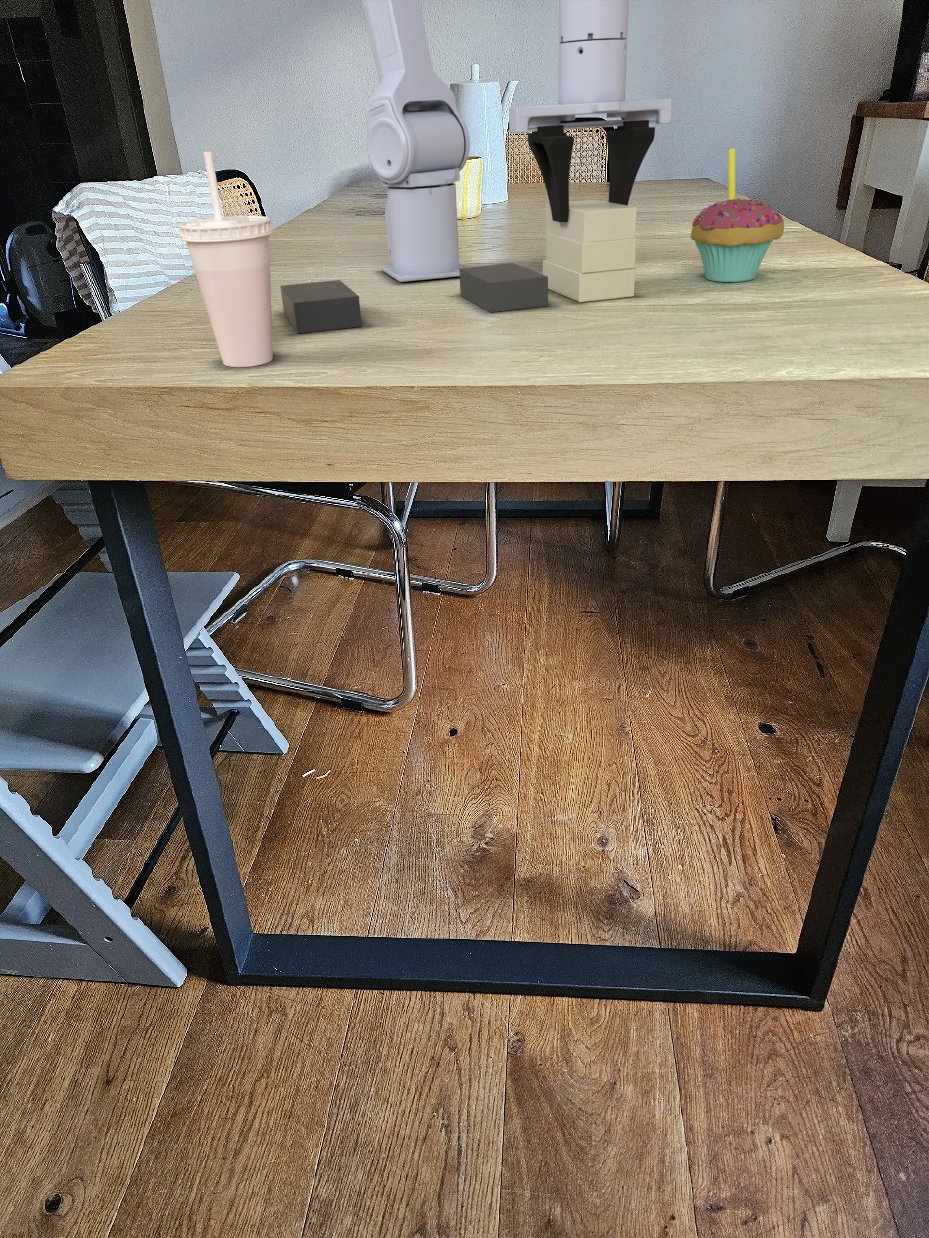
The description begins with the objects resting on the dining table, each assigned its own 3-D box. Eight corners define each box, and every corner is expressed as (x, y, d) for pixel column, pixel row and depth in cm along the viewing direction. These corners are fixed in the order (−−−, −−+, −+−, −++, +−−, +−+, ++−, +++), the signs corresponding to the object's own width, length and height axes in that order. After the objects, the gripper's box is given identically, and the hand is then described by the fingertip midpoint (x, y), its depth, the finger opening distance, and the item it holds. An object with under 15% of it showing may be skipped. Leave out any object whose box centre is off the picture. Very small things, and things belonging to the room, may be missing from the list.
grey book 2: (460, 295, 86) (459, 268, 84) (514, 290, 87) (513, 262, 86) (490, 312, 78) (489, 282, 77) (548, 306, 79) (548, 276, 78)
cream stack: (542, 287, 88) (542, 232, 85) (593, 281, 89) (595, 227, 86) (579, 303, 80) (581, 243, 77) (635, 296, 81) (638, 238, 79)
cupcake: (669, 277, 89) (678, 141, 83) (737, 267, 92) (751, 136, 86) (725, 289, 82) (739, 143, 76) (796, 279, 85) (815, 137, 79)
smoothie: (186, 367, 66) (143, 155, 59) (243, 347, 71) (209, 149, 63) (253, 375, 63) (217, 153, 56) (308, 353, 68) (280, 147, 61)
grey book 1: (284, 314, 82) (280, 285, 80) (343, 307, 83) (339, 279, 82) (297, 333, 74) (293, 302, 73) (362, 326, 75) (358, 295, 74)
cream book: (545, 232, 85) (545, 203, 84) (593, 227, 86) (594, 199, 85) (583, 243, 78) (584, 211, 76) (635, 238, 79) (637, 207, 77)
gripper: (528, 41, 69) (530, 229, 76) (694, 35, 73) (681, 216, 80) (499, 48, 75) (503, 222, 82) (653, 42, 79) (645, 209, 85)
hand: (588, 219), depth 81 cm, fingers closed on cream book, 5 cm apart
